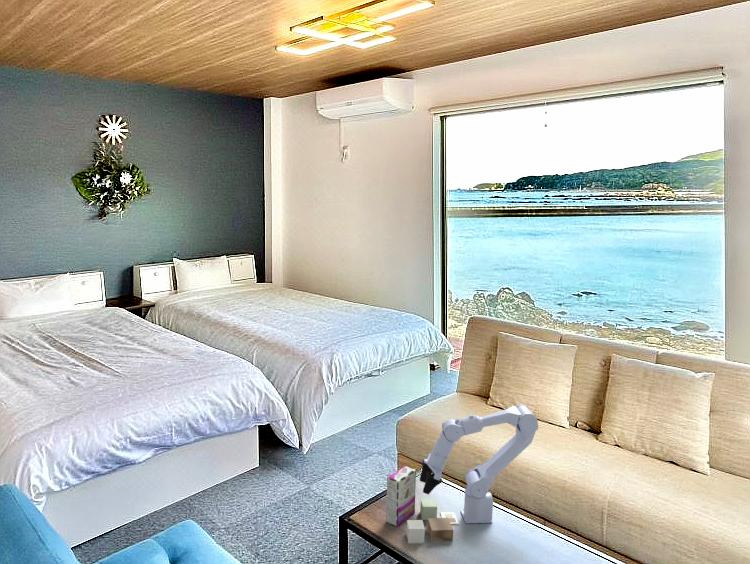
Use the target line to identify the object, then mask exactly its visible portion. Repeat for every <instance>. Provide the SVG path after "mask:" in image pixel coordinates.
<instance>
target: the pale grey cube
mask: <svg viewBox="0 0 750 564" xmlns="http://www.w3.org/2000/svg"><path fill="white" fill-rule="evenodd" d="M423 521H424V520H422V519H406V538H407V543H408V544H425V528H426V527H425V526H424V522H423Z"/></svg>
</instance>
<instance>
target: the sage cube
mask: <svg viewBox="0 0 750 564" xmlns="http://www.w3.org/2000/svg"><path fill="white" fill-rule="evenodd" d="M419 505H420V507H419V513H420V517H421V520H422V521H428V518H438V504H437V502H436V499H435V498H420V502H419Z"/></svg>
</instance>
